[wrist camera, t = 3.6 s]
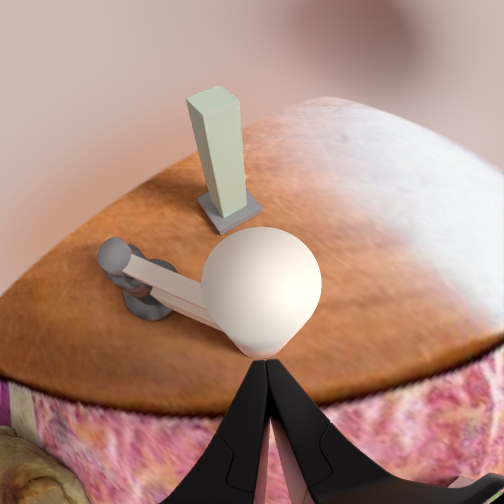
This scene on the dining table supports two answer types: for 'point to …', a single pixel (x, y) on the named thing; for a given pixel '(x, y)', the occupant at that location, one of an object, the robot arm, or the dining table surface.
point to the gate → (235, 286)
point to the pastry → (34, 474)
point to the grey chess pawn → (142, 292)
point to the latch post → (221, 158)
